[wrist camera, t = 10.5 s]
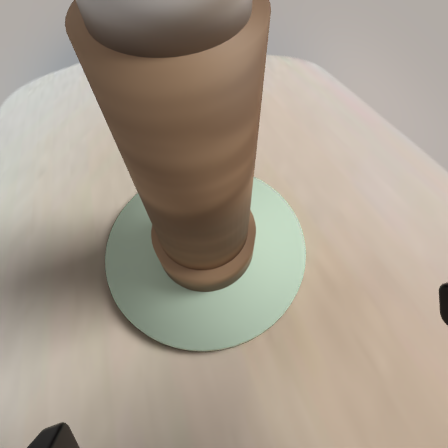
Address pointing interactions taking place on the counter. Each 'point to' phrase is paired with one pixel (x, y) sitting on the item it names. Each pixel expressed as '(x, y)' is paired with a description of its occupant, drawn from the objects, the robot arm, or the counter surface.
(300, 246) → the rubber mat
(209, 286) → the pepper mill
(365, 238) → the counter surface
